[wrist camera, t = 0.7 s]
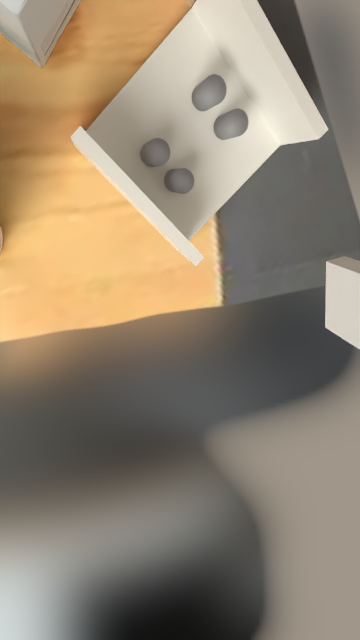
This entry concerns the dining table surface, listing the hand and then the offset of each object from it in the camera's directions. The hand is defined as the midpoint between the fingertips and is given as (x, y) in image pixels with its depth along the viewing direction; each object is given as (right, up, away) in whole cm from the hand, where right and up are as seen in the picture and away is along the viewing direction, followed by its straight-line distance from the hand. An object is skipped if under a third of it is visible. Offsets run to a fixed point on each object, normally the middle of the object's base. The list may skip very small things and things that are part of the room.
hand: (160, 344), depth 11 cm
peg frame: (+1, +17, +19) cm, 26 cm away
